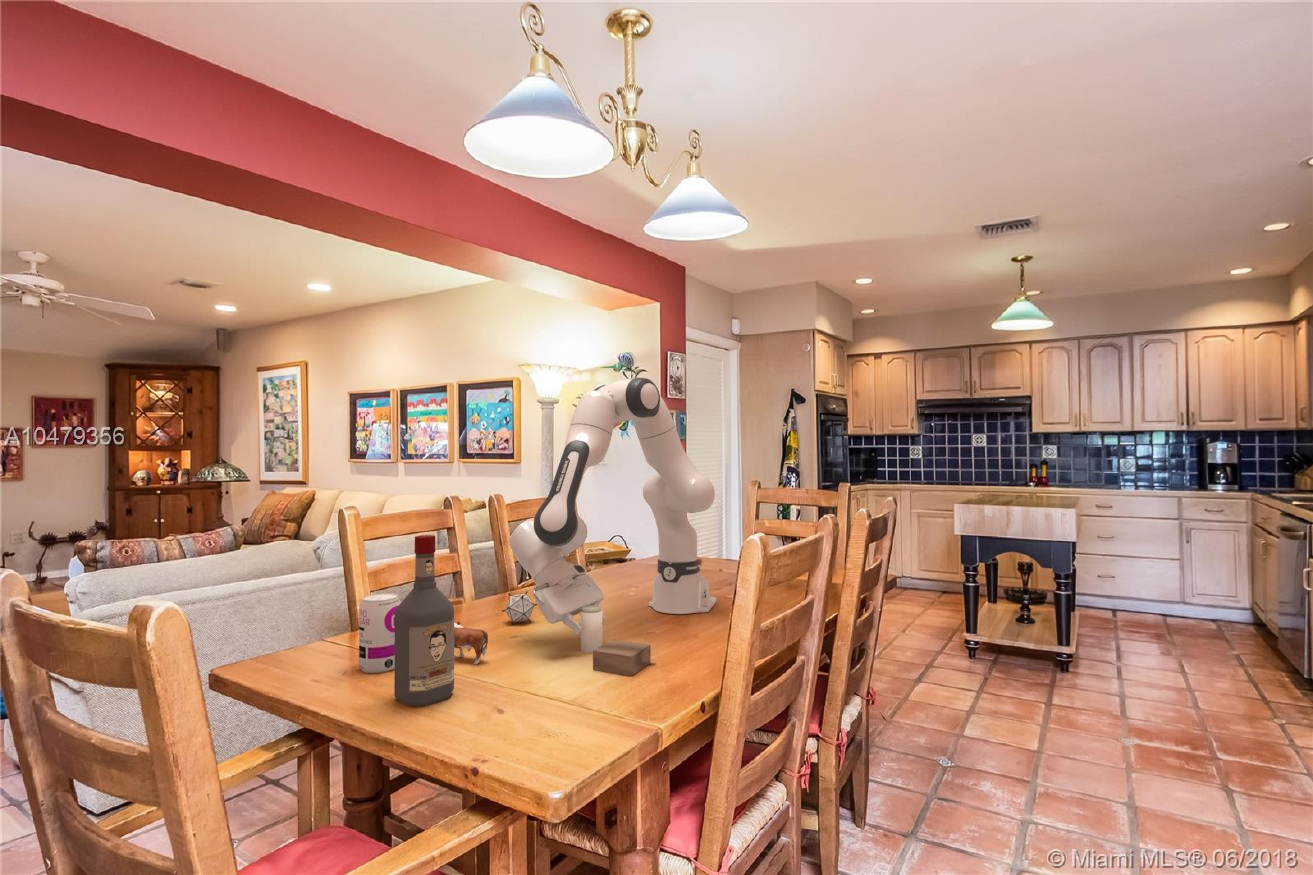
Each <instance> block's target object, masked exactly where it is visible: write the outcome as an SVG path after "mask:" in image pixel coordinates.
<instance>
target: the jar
mask: <svg viewBox="0 0 1313 875" xmlns="http://www.w3.org/2000/svg"><path fill="white" fill-rule="evenodd" d="M602 614H603V609H602V606H601V605H600V606H598V605H587V606H583V607H582V610H581V613H580V623H581V624H582V626H583V627H584V630H583V631H582V632H581V633H580V652H581V653H584V654H593V650H595V649H597V648H599V647H601V646H603V623H602Z"/></svg>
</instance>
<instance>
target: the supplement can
mask: <svg viewBox="0 0 1313 875" xmlns="http://www.w3.org/2000/svg"><path fill="white" fill-rule="evenodd" d="M401 602H402V601H401V600H400V598H399V595H398V594H397V593H390V592H387V593H385V592H384V593H373V594H369V595H364V597H362V599H361V601H360V603H359V605H358V606H359V609H358V613H359V614H358V615H359V617H358V619H359V620H358V623H359V624H358V629H359V630H358V668H359V669H360V670H361V672H363V673H366V674H367V673H368V674H380V673H387V672H390V671H393V670H395V612H396V609H397V607H398V606H399V605H400V603H401Z"/></svg>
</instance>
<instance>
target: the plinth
mask: <svg viewBox="0 0 1313 875" xmlns="http://www.w3.org/2000/svg"><path fill="white" fill-rule="evenodd" d="M651 649H652V648H651V644H650V643H648V644H647V643H641V642H636V641H635V642H634V641H628V640H621V639H615V638H614V639H612V640H610V641H609V642H607V643H605V644H602V646H601V647H599V648H597V649H595V650H593V653H592V670H593V671H598V672H603V673H609V674H615V675H621V676H626V677H632V676H633V675H635V674H637V673H638V672H639V671H641V670H643V669H644V668H646V667H647V666H649V665H651V660H652V659H651V658H652V657H651V655H652V654H651V653H652V652H651Z"/></svg>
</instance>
